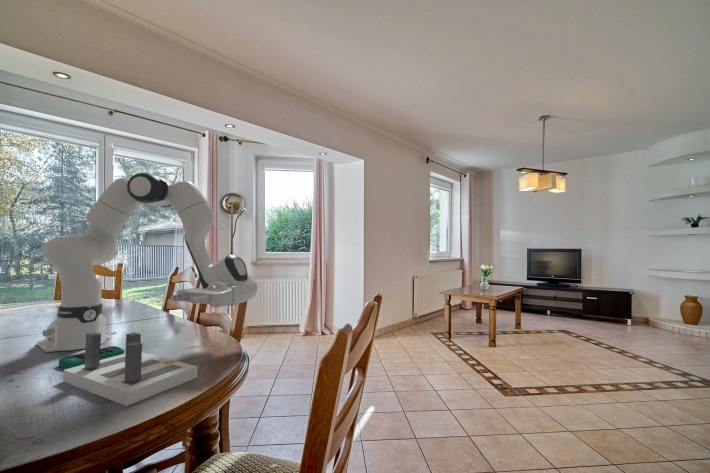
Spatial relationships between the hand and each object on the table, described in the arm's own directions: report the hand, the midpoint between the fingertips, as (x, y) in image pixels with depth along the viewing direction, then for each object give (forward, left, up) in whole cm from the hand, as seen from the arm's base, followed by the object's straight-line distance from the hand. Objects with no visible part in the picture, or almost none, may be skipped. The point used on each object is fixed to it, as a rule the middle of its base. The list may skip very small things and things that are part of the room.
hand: (182, 299), depth 99 cm
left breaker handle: (-9, -19, -16) cm, 26 cm away
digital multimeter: (-25, -11, -20) cm, 34 cm away
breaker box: (0, -14, -19) cm, 24 cm away
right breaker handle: (+9, -19, -16) cm, 26 cm away
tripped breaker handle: (0, -14, -16) cm, 21 cm away
